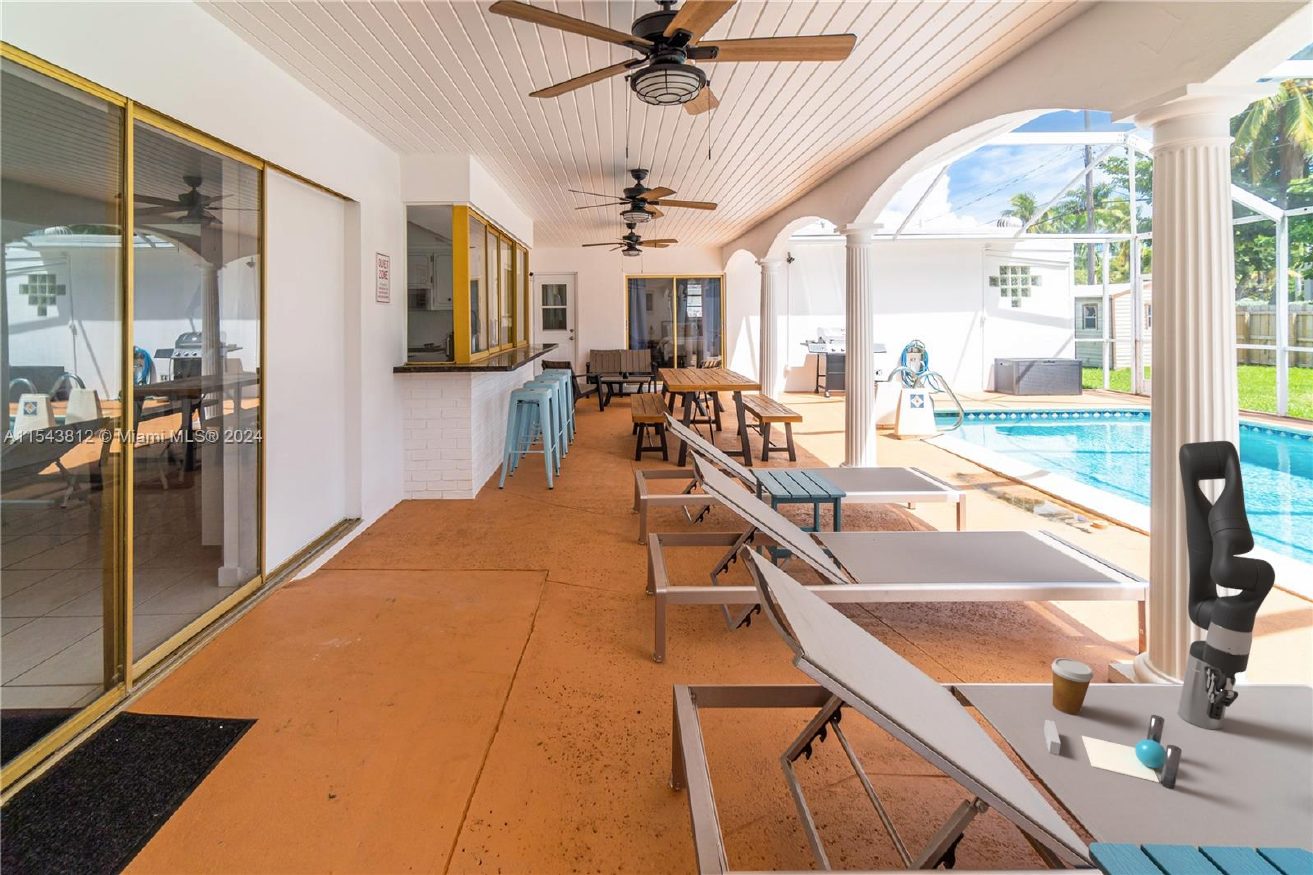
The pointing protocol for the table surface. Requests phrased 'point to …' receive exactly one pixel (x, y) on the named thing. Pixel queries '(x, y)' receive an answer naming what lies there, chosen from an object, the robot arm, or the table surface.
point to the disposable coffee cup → (1070, 684)
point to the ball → (1150, 753)
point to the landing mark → (1117, 759)
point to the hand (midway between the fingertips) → (1213, 717)
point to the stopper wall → (1052, 737)
